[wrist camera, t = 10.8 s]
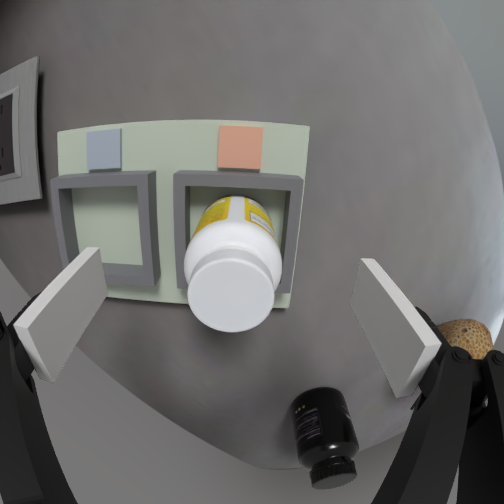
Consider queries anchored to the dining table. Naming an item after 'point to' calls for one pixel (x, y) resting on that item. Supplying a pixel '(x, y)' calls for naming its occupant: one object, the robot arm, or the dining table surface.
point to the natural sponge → (468, 336)
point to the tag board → (171, 195)
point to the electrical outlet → (19, 133)
